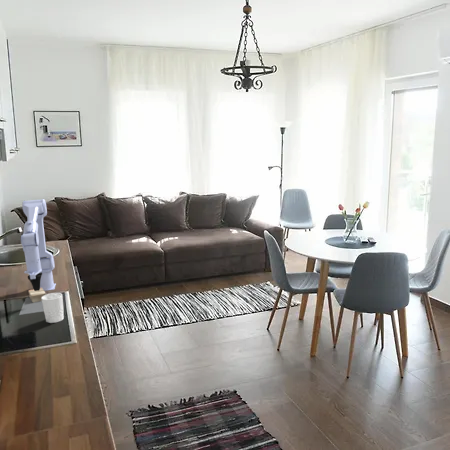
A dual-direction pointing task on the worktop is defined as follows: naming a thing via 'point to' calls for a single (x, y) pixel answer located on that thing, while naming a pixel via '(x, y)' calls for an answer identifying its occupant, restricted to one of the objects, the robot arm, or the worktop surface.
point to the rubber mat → (31, 307)
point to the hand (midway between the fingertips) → (37, 290)
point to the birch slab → (36, 295)
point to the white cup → (53, 307)
